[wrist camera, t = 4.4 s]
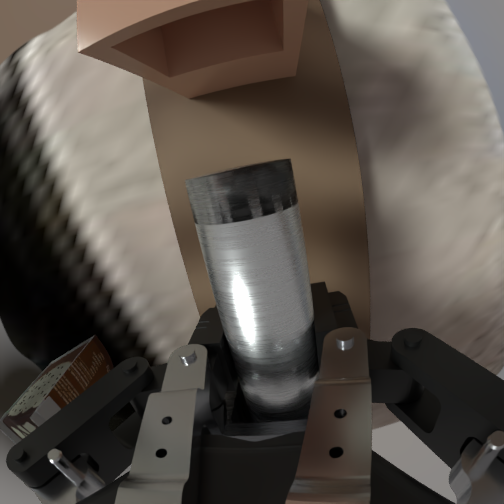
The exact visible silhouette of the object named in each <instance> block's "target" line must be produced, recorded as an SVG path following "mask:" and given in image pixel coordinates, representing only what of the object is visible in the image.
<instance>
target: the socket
mask: <svg viewBox="0 0 504 504" xmlns="http://www.w3.org/2000/svg"><path fill="white" fill-rule="evenodd" d="M308 1H309V0H77V43H78V53H81V54H84V55H87V56H90V57H93V58H95V59H98V60H101V61H103V62H106V63H109V64H111V65H114V66H116V67H119V68H121V69H124V70H126V71H129V72H131V73H133V74H136V75H138V76H141V77H143V78H145V79H147V80H150V81H152V82H154V83H156V84H159V85H161V86H163V87H165V88H167V89H169V90H172V91H174V92H176V93H178V94H180V95H182V96H184V97H186V98H188V99H190V98H193V97H197V96H200V95H204V94H208V93H212V92H216V91H220V90H224V89H228V88H232V87H237V86H241V85H246V84H251V83H256V82H262V81H267V80H273V79H279V78H285V77H292V76H296V70H297V65H298V59H299V53H300V48H301V42H302V36H303V30H304V24H305V19H306V13H307V7H308Z"/></svg>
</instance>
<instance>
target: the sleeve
mask: <svg viewBox="0 0 504 504" xmlns="http://www.w3.org/2000/svg"><path fill="white" fill-rule="evenodd" d="M225 401H226V403H227V436H228V437H233V438H237V439H242V440H247V441H253V442H256V441H261V440H266V439H270V438H274V437H277V436H281V435H285V434H289V433H292V432H300V431H306V426H307V421H308V419H302V420H292V421H280V422H264V423H253V421H252V418H251V415H250V412H249V409H248V406H247V403H246V400H245V397H244V394H243V391H242V388H241V385H240V382H239V378H238V382H237V387H236V391H226V394H225Z"/></svg>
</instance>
